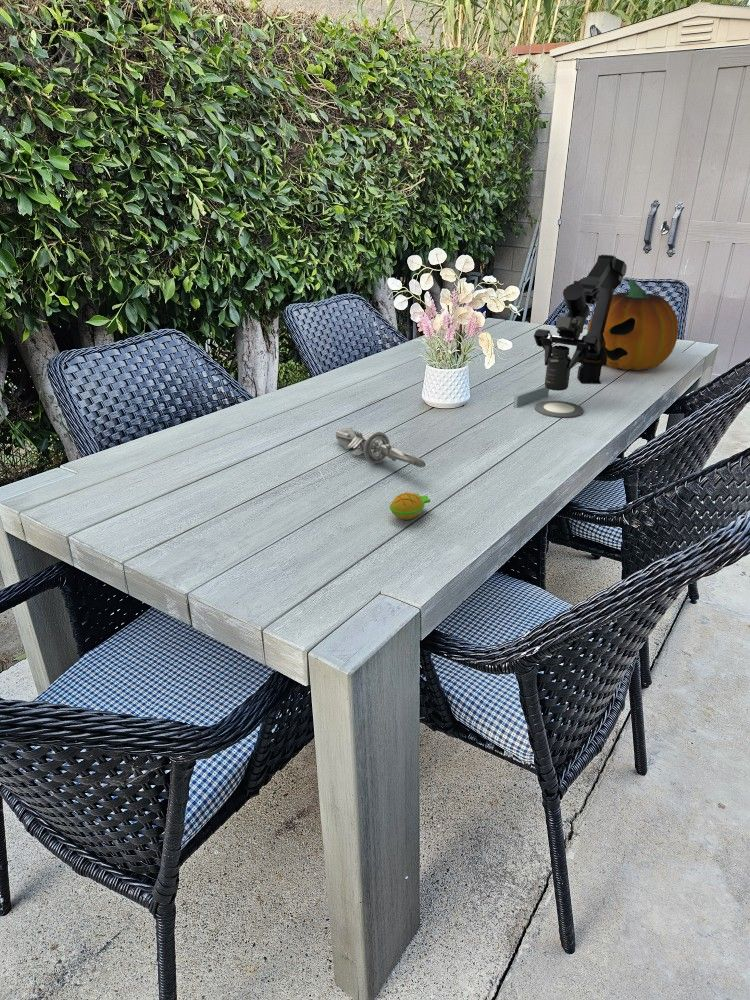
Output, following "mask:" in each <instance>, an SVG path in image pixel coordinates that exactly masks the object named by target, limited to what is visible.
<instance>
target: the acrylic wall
mask: <svg viewBox="0 0 750 1000" xmlns="http://www.w3.org/2000/svg"><path fill="white" fill-rule="evenodd" d="M549 391H550V389H547V388H546V387H545V385H542V386H539V387H536V388H533V389H530V390H527V391H523V392H521V393H517V394H515V395H514V399H513V407H514V408H519V407H522V406H524V405H528V404H530V403H534V402H536V401H539V400H542V399H545V398H549Z"/></svg>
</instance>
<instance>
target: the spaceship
mask: <svg viewBox="0 0 750 1000" xmlns="http://www.w3.org/2000/svg"><path fill="white" fill-rule="evenodd" d="M333 433H334V435H335V438H336V440H337V441H338V442H339V444H340V445H342V447H343V448H345V450H350V449H351V448H353V449H355V448H356V447H359V448H356V449H355V450H354V451H353V450H352V451H351V454H353V455H356V456H359V455H362V454H363V456H364V458H365V460H366V461H367V462H369V463H371V464H375V465H376V464H379V463H381V462H382V461H385V459H386V458H388V459H391V461H394V462H396V461H400V462H404V463H406V464H410V465H412V466H415V467H417V468H425V467H426V463H425V461H424V460H423V459H422V458H421V457H418V456H416V455H413V454H409V453H407V452H405V451H402V450H398V449H396V448H395V447H393V446H391V444H390V439H389V437H388V436H387V435H386V434H385V433H384V432H382V431H376V432H371V431H368V430H366V431H364V432H362V433H361V432H359V431H356V430H354V429H353V427H347V428H341V429H340V430H339V429H338V430H336V432H333ZM380 442H381V443H380ZM373 453H374V454H373ZM377 454H378V455H377Z"/></svg>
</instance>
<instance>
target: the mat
mask: <svg viewBox="0 0 750 1000" xmlns="http://www.w3.org/2000/svg"><path fill="white" fill-rule="evenodd" d="M534 410H535V411H536V412H537V413H539V414H541V415H543V416H545V417H550V418H551V417H552V418H556V419H558V418H560V419H569V418H570V419H571V418H578V417H580V416H581V415H583V413H584V409H583V407H582V406H581V405H579V404H576V403H574V402H570V401H564V400H544V401H540V402H537V403H536V404H535V405H534Z"/></svg>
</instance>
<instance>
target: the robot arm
mask: <svg viewBox="0 0 750 1000" xmlns="http://www.w3.org/2000/svg"><path fill="white" fill-rule="evenodd" d="M627 269H628V268H627V264H626V262H625V261H624V260H621V259H619V258H618V257H617V256H614V255H611V254H600V255H598V257H597V260H596V263H595V264H594V265H593V267H592V268H591V270H590V271H589V273H588V274H587V276H586V277H584V278H581V279H579V280H574V281H573V283H571V284H569V285H567V286H566V287H565V288H564V289H563V292H562V296H563V300H564V304H565V308H566V309H567V310H568V311H567V313H566V316H561V315H558V316H557V320H556V324H555V329H557V330H556V333H557V335H553V334H552V333H551V330H549V329H541V328H538V329H536V330H535V331H534V334H533V338H534V342H535V344H536V346H538V347H540V348H542V349H543V350H544V366H547V360H548V358H549V356H551V355H552V348H553V344H561V345H564V346H572V347H575V351H574V353H573V355H572V357H571V361H570V364H569V369H570V370H572V369H573V368H574V367H575V365H577V364H580V365H579V366H578V368H577V379H578V381H579V382H580V384H593V385H594V384H597V385H598V384H599V385H600V384H601V383H602V382H601V380H600V379H601V374H602V367H605V366H607V365H606V364H607V352H606V348H605V346H606V342H605V339H604V336H603V333H604V329H605V325H606V321H607V317H608V313H609V309H610V305H611V301H612V297H613V295H614V293H615V290H616V289H617V288H618V287H619V286H620V284H622V282H623V279H624V277H625V276H626V273H627ZM589 305H595V306H594V310H593V313H594V314H592V316H593V318H592V317H591V318H592V322H591V326H590V330H589V332H588V333H587V332H586V334H585V335H582V338H581V339H579V338H580V336H581V334H583V332H584V326H585V323H586V321H587V318H588V317H589V313H590V311H591V310H590V306H589ZM600 360H601V361H600Z"/></svg>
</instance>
